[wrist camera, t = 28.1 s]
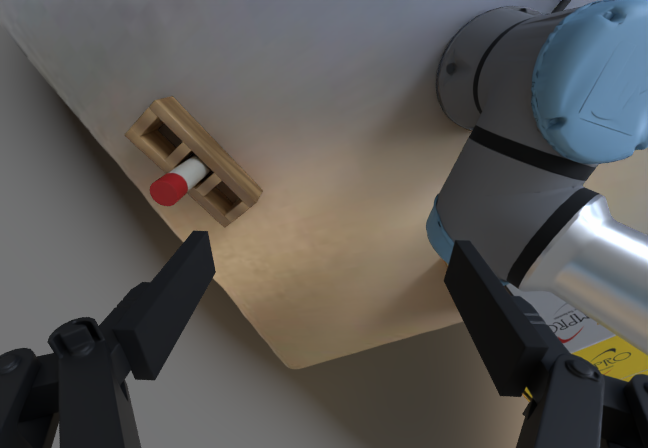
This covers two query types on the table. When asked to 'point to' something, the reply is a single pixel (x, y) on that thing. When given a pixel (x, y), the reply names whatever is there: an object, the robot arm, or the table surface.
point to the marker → (178, 181)
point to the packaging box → (585, 337)
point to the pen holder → (204, 147)
